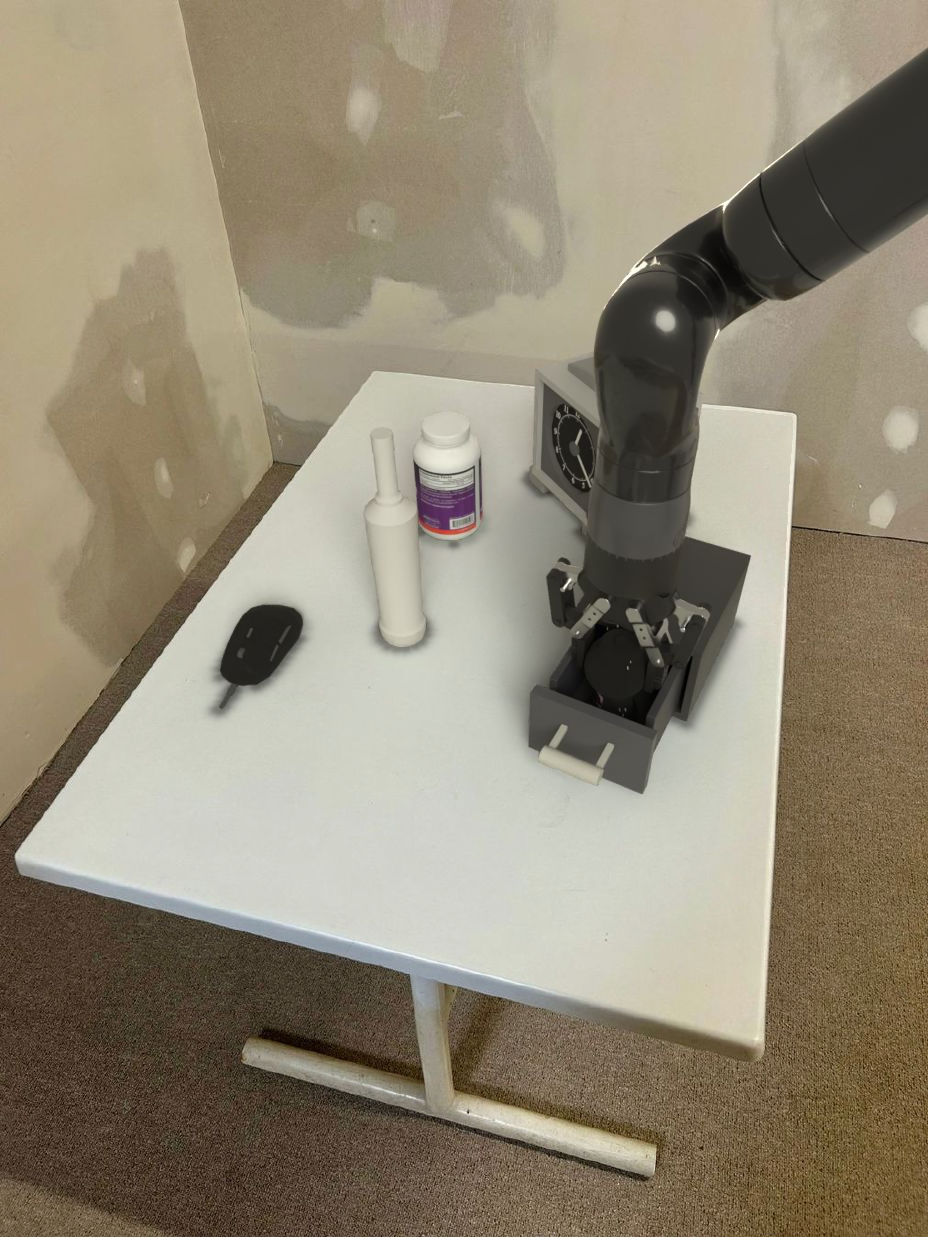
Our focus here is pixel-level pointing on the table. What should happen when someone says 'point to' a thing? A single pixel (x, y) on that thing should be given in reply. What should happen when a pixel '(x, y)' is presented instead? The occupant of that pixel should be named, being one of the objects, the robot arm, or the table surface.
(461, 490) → the pill bottle
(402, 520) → the bottle
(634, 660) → the gumball machine
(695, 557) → the grey drawer cabinet
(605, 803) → the table surface
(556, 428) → the alarm clock
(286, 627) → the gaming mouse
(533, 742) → the open grey drawer
